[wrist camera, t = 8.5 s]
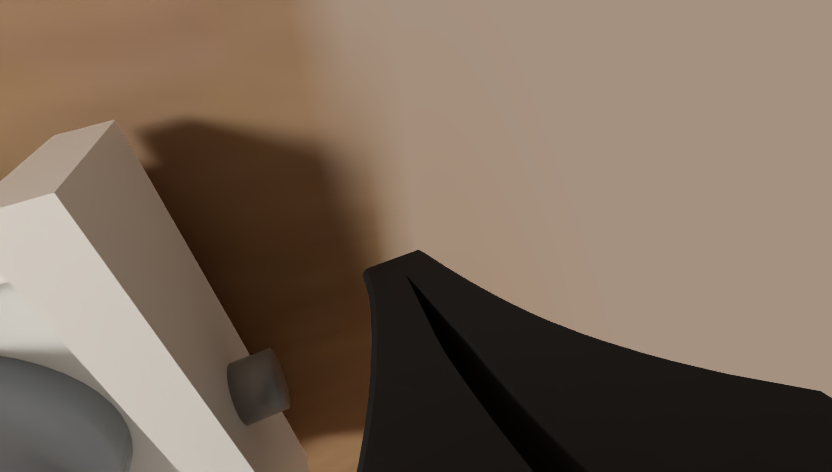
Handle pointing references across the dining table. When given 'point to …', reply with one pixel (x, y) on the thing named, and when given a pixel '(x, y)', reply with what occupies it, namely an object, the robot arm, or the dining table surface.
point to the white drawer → (133, 312)
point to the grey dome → (57, 423)
